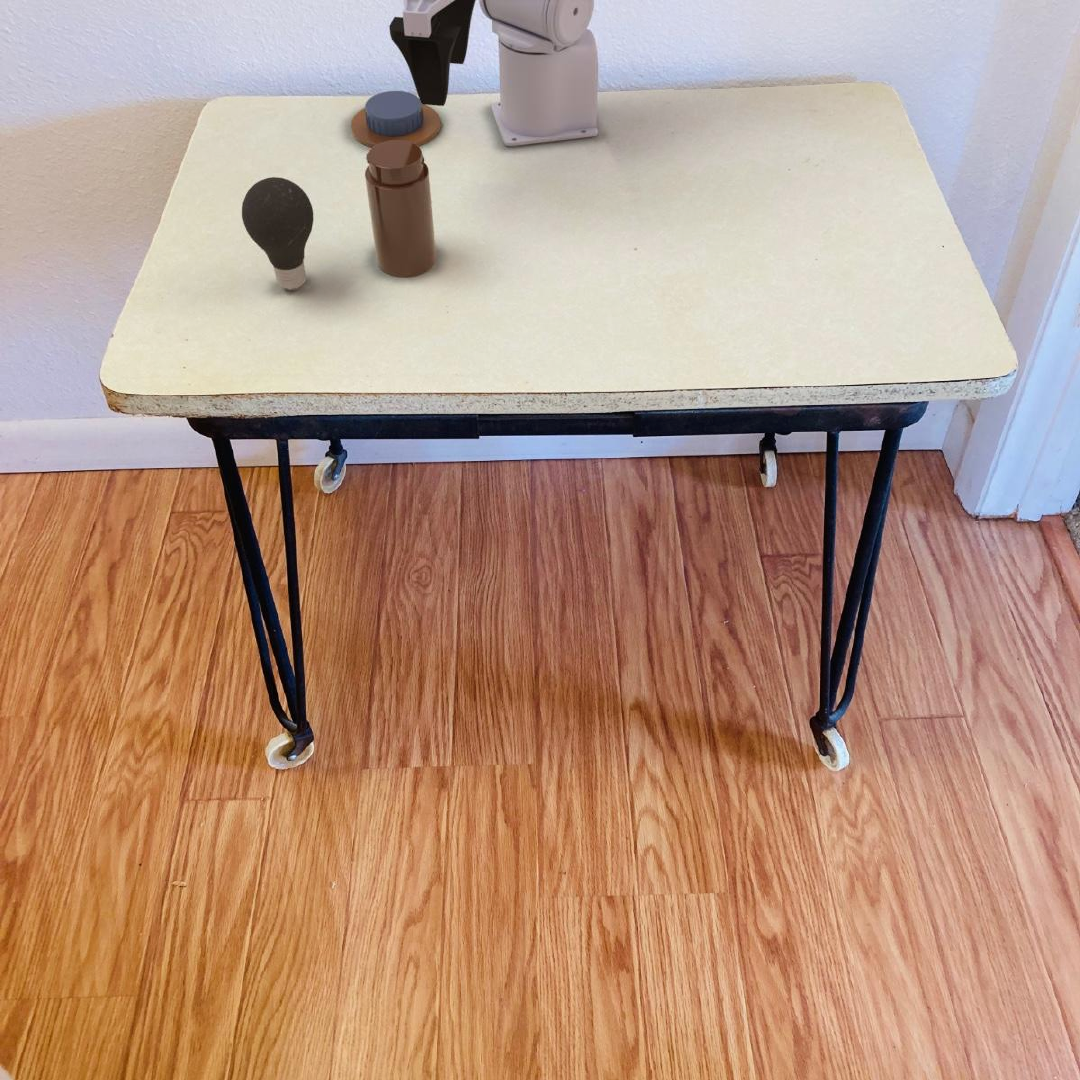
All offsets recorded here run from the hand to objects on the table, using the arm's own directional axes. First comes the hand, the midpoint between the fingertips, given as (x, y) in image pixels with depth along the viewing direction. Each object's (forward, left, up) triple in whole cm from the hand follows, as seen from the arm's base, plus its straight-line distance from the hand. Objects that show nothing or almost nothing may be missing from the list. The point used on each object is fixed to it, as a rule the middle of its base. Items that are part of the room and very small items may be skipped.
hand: (443, 82), depth 97 cm
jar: (+6, +12, -9) cm, 17 cm away
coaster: (+4, -10, -9) cm, 15 cm away
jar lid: (+4, -10, -7) cm, 13 cm away
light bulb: (+16, +14, -10) cm, 23 cm away
